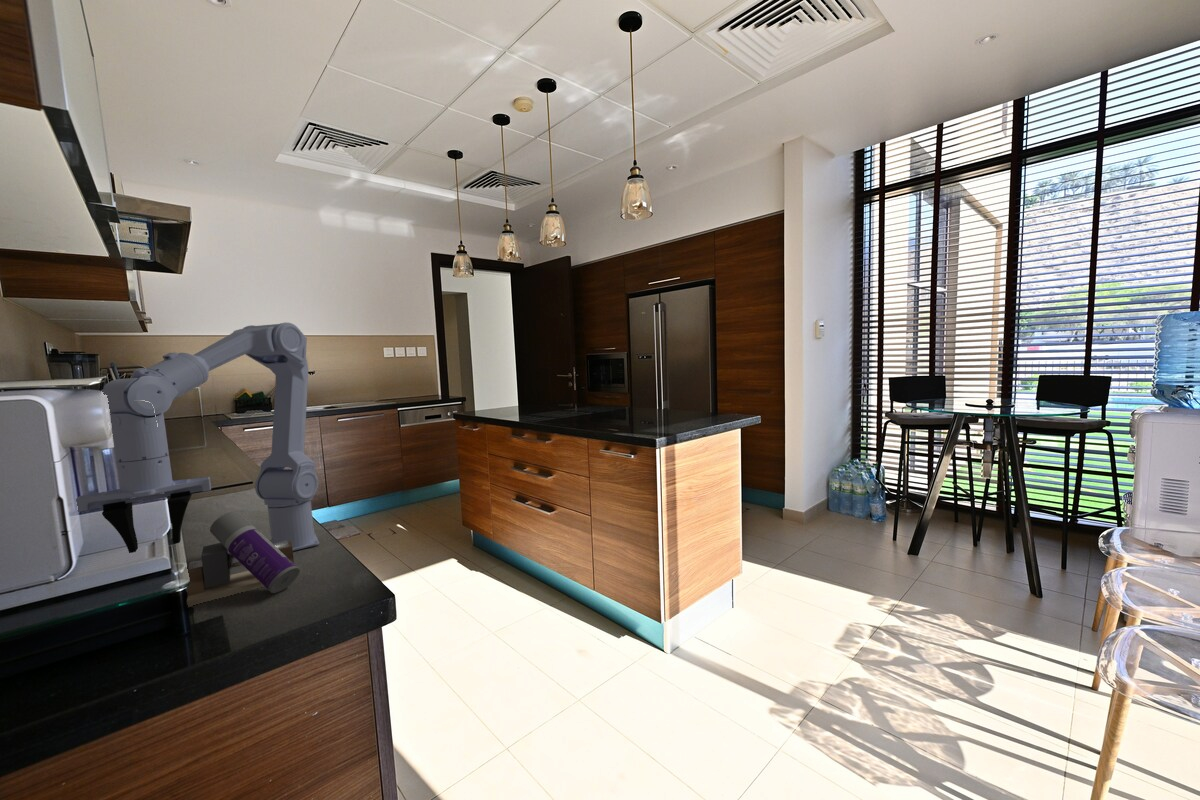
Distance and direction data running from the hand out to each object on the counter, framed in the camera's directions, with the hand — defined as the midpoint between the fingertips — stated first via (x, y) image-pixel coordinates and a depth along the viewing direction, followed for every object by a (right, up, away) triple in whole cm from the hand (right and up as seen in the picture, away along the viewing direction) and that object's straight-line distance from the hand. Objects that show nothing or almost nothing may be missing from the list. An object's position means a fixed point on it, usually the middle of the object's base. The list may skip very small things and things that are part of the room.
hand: (155, 546), depth 72 cm
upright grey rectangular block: (+6, -7, +5) cm, 10 cm away
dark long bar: (+8, -5, +6) cm, 12 cm away
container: (+18, -6, +3) cm, 19 cm away
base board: (+9, -8, +7) cm, 14 cm away
